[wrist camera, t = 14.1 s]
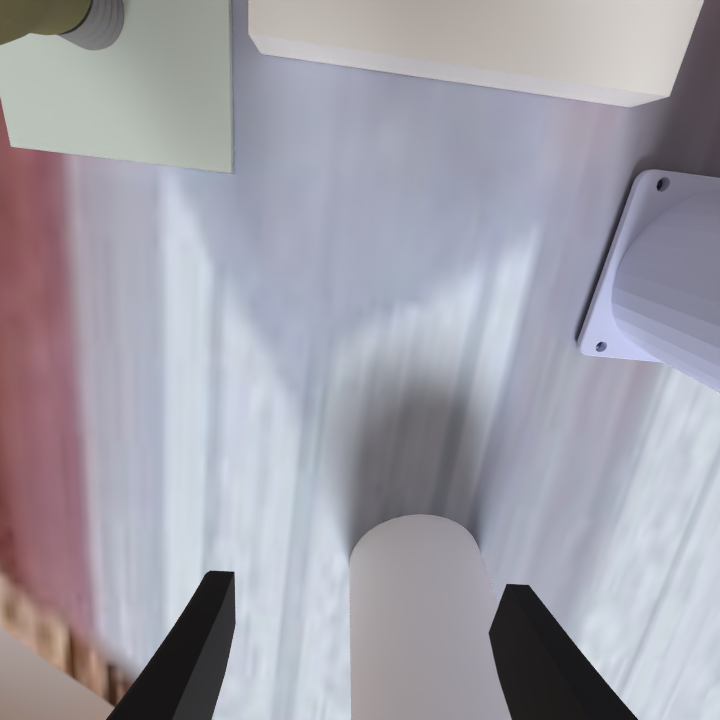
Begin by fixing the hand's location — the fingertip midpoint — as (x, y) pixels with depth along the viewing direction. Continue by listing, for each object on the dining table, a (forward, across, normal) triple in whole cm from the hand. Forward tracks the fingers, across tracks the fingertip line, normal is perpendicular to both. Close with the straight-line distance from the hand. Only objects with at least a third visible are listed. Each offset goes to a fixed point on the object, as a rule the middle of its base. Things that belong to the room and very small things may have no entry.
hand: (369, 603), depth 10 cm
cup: (+11, -5, +13) cm, 18 cm away
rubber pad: (+10, +10, -14) cm, 20 cm away
